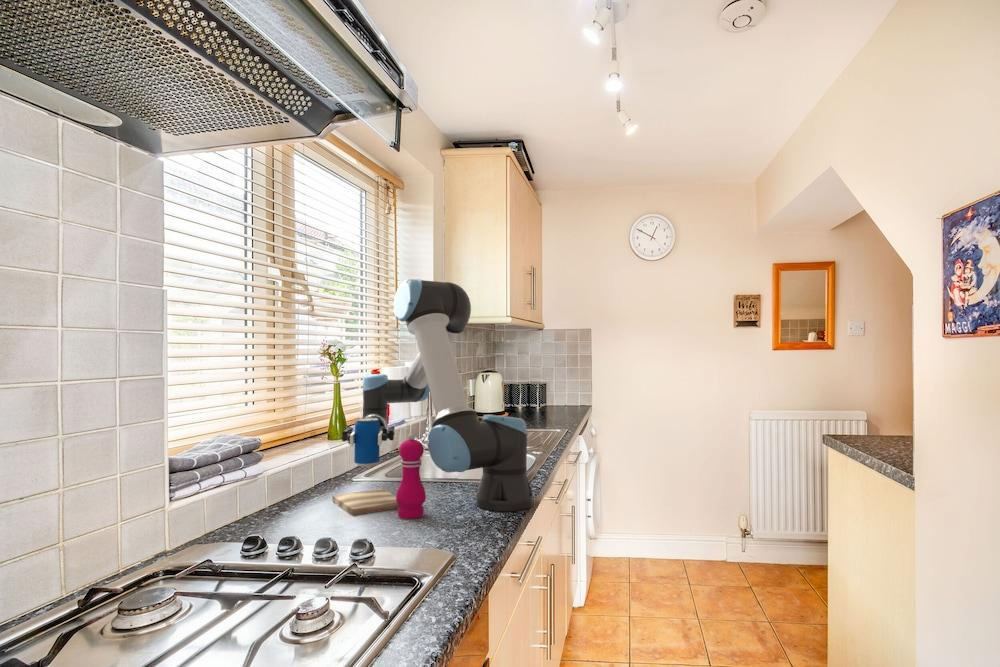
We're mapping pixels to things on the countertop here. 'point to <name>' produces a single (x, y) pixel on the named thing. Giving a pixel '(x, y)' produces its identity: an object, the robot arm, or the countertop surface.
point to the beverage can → (366, 441)
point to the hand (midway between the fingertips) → (365, 440)
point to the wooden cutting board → (366, 501)
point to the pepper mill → (411, 480)
